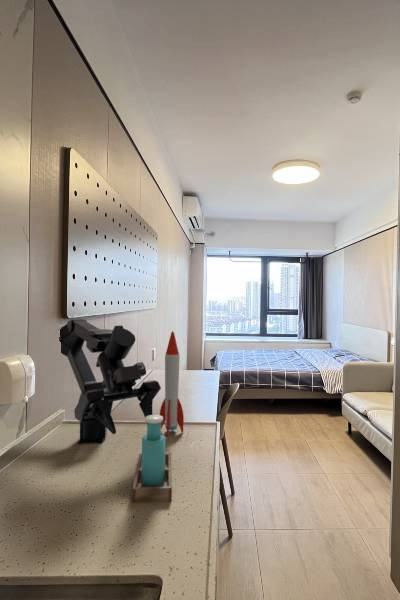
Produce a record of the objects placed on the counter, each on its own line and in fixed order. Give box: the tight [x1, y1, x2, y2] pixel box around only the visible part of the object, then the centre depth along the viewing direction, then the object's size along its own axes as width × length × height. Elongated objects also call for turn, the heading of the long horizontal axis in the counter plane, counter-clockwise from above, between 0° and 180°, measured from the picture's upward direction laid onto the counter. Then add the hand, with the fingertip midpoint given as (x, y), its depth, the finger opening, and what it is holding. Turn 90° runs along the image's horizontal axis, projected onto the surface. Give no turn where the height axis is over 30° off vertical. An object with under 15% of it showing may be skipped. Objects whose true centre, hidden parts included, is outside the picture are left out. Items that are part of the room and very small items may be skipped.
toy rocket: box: [159, 330, 185, 437], centre depth 101 cm, size 6×6×30 cm
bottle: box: [141, 414, 167, 487], centre depth 70 cm, size 5×5×14 cm
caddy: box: [131, 452, 173, 504], centre depth 74 cm, size 8×15×3 cm, turn 5°
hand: (133, 428), depth 77 cm, fingers open, 9 cm apart
